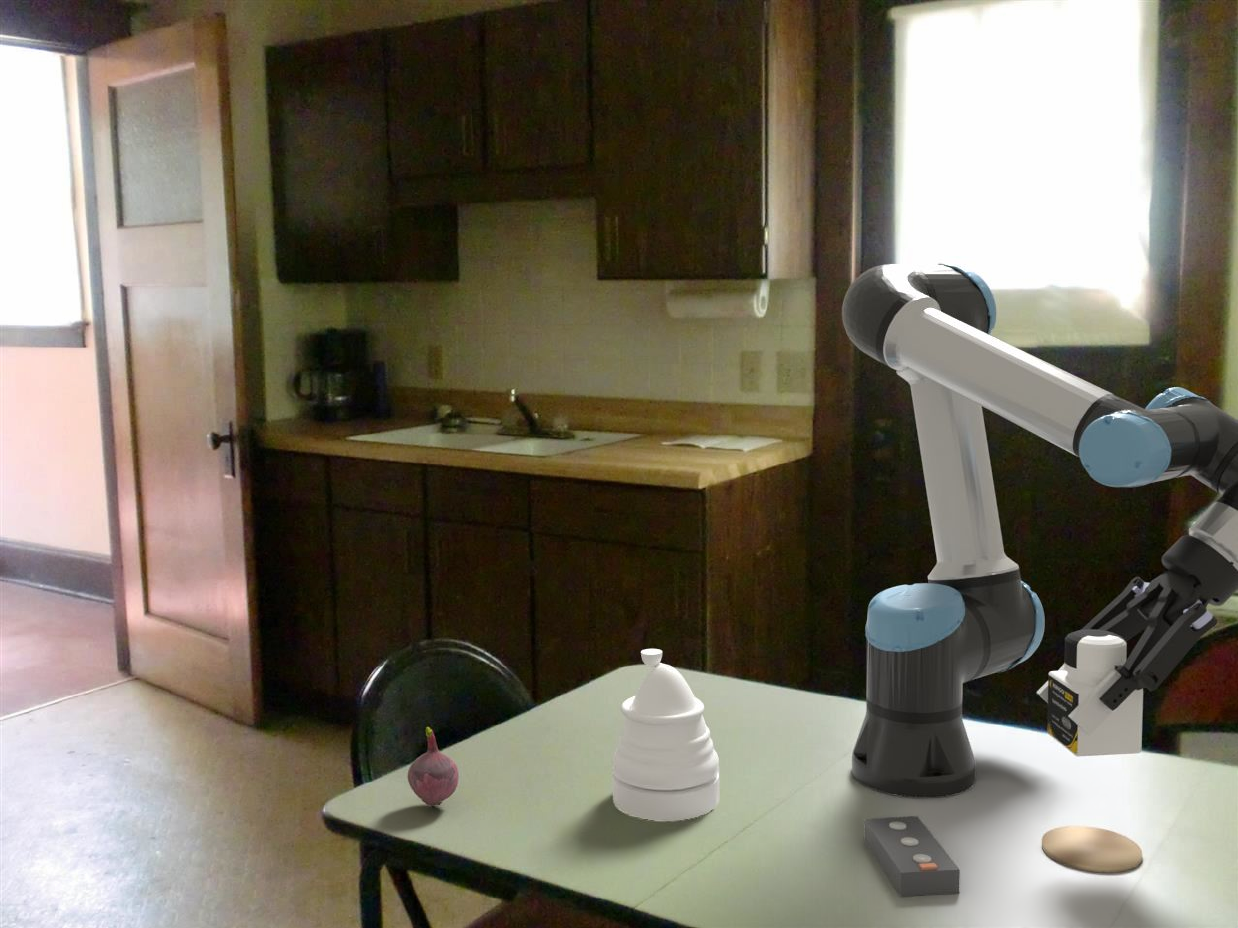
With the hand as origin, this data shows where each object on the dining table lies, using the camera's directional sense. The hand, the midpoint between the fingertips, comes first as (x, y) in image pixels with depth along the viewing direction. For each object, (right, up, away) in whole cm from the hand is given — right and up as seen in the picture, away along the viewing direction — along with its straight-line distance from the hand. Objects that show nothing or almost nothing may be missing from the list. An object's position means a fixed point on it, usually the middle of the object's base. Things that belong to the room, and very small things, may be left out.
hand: (1062, 712), depth 127 cm
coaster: (+4, -15, +2) cm, 16 cm away
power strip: (-16, -16, 0) cm, 23 cm away
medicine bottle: (+4, -4, +1) cm, 5 cm away
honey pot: (-41, -14, +18) cm, 47 cm away
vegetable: (-69, -15, +17) cm, 73 cm away
